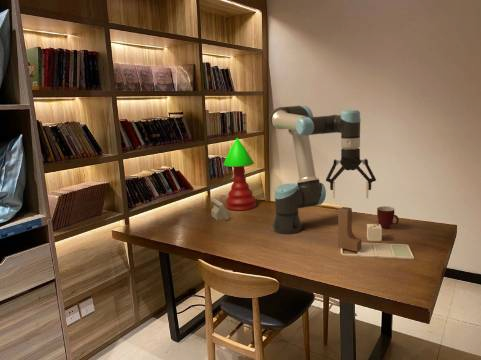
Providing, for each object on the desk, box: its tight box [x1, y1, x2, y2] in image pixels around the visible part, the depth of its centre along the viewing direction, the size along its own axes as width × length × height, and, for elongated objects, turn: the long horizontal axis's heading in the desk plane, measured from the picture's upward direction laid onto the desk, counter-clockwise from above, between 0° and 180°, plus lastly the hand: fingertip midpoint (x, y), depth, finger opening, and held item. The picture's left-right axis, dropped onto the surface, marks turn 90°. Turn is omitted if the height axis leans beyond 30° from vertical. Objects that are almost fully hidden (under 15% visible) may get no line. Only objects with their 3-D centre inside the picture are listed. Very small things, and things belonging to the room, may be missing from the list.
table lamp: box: [222, 137, 257, 212], centre depth 232 cm, size 20×20×45 cm
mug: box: [376, 205, 400, 230], centre depth 183 cm, size 10×8×10 cm
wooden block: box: [337, 206, 362, 253], centre depth 159 cm, size 9×4×18 cm, turn 49°
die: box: [366, 223, 383, 242], centre depth 171 cm, size 6×6×6 cm
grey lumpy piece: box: [210, 198, 230, 221], centre depth 215 cm, size 16×9×11 cm, turn 12°
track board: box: [340, 242, 415, 260], centre depth 158 cm, size 29×14×1 cm, turn 76°
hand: (350, 197), depth 155 cm, fingers open, 13 cm apart
